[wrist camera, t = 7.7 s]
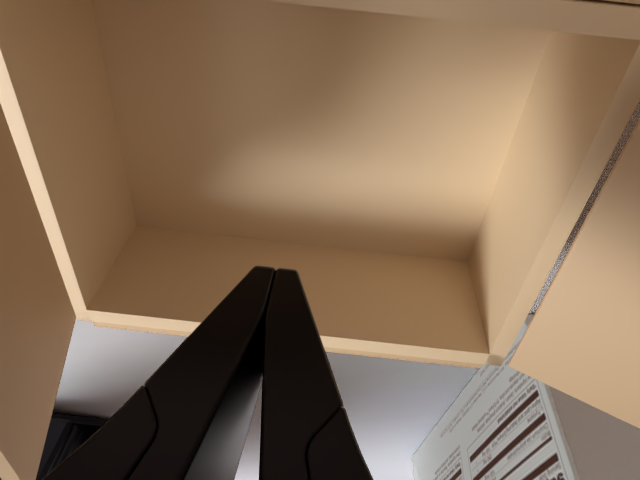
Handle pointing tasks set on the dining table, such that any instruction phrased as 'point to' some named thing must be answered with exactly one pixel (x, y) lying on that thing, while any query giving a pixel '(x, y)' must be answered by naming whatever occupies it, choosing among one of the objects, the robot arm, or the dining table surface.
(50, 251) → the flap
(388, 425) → the dining table surface
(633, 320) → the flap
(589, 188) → the carton
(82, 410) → the dining table surface
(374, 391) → the dining table surface
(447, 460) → the supplement box
